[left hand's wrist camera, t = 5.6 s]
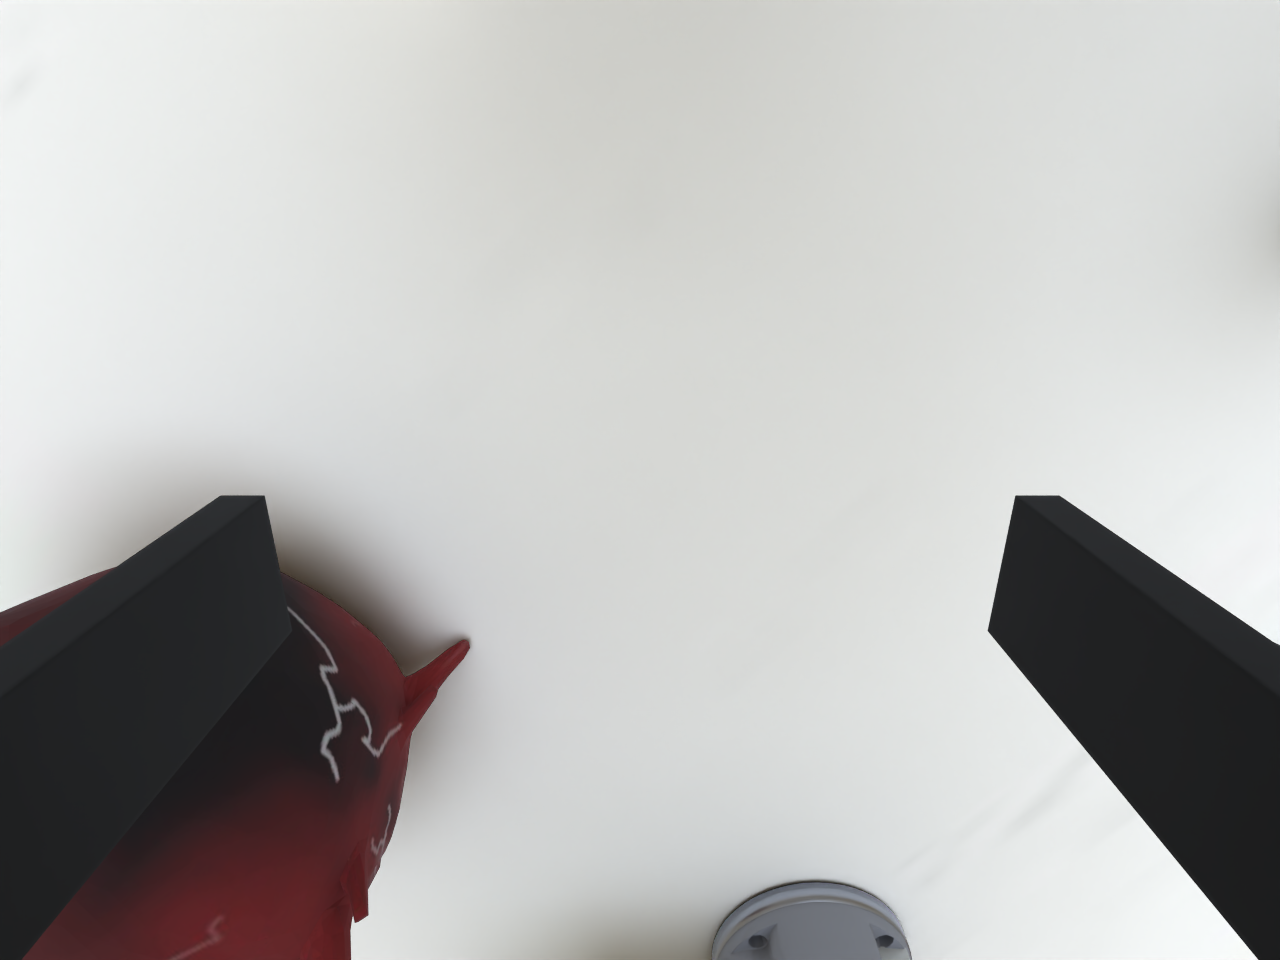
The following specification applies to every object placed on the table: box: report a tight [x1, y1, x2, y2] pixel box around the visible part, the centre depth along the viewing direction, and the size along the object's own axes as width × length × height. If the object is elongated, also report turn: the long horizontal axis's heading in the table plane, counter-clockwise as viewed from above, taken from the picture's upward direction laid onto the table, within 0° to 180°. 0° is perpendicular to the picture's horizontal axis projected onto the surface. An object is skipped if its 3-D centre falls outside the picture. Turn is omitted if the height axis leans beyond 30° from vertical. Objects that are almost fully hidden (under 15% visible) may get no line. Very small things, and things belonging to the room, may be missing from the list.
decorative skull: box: [0, 567, 470, 960], centre depth 38 cm, size 21×24×25 cm
